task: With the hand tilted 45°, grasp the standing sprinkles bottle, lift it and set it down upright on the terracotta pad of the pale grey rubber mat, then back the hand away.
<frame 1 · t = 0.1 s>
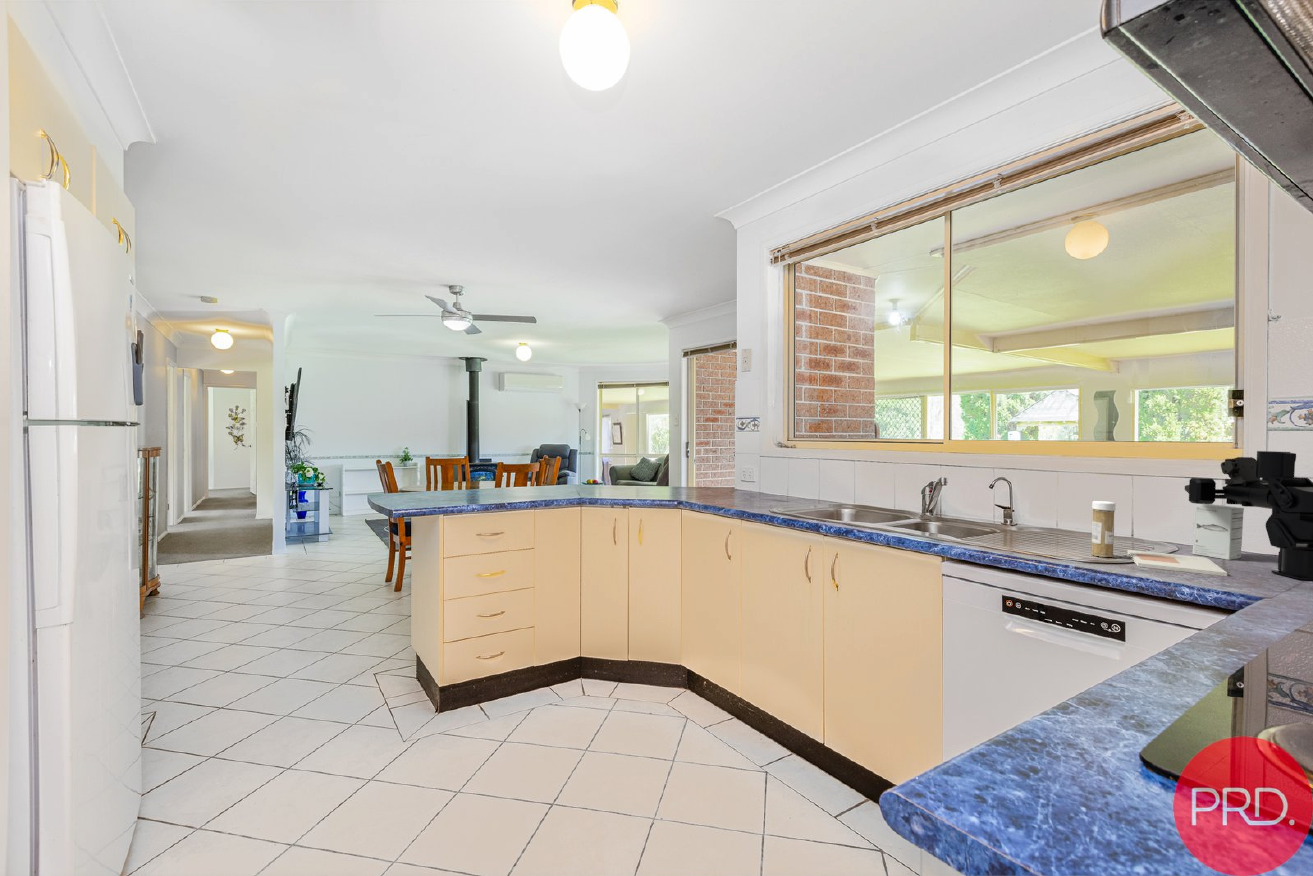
hand: (1204, 488, 154), 17 cm above the counter, tool horizontal, fingers open, 9 cm apart
sprinkles bottle: (1101, 557, 148), on the counter
supplement box: (1216, 557, 150), on the counter
mat: (1173, 563, 141), on the counter
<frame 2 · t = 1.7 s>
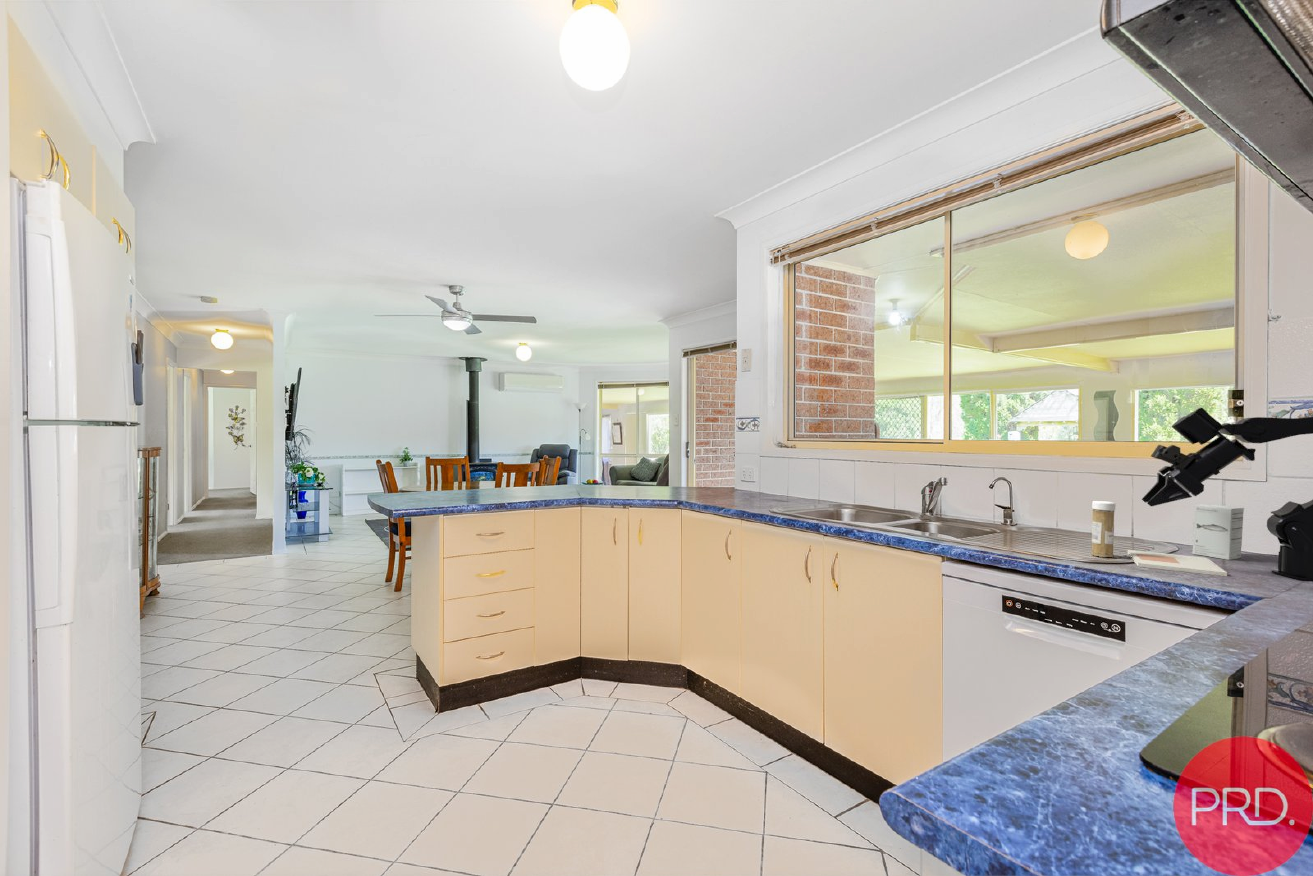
hand: (1146, 502, 143), 14 cm above the counter, tool tilted 45°, fingers open, 9 cm apart
nothing on the counter moved.
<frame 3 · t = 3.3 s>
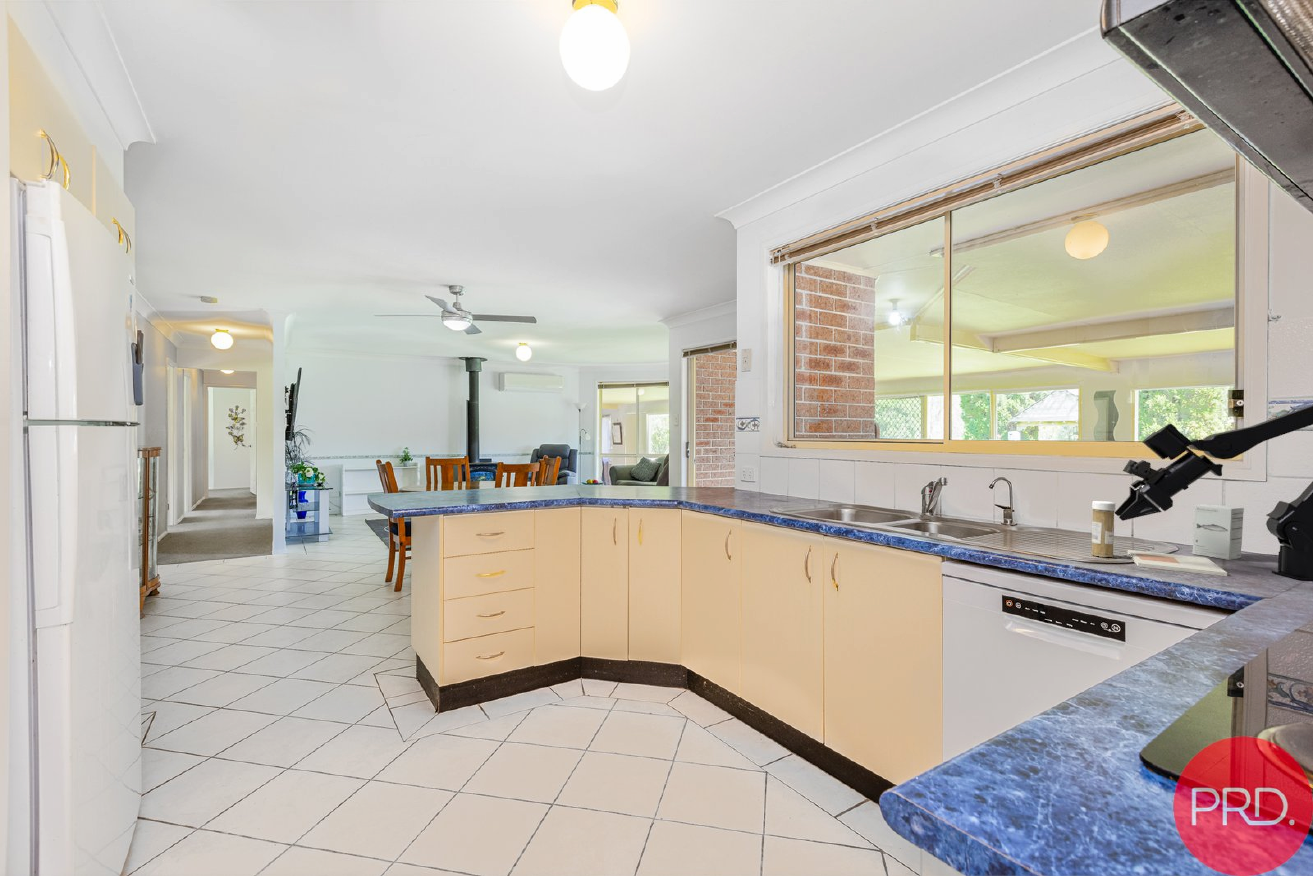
hand: (1118, 516, 146), 10 cm above the counter, tool tilted 45°, fingers open, 9 cm apart
nothing on the counter moved.
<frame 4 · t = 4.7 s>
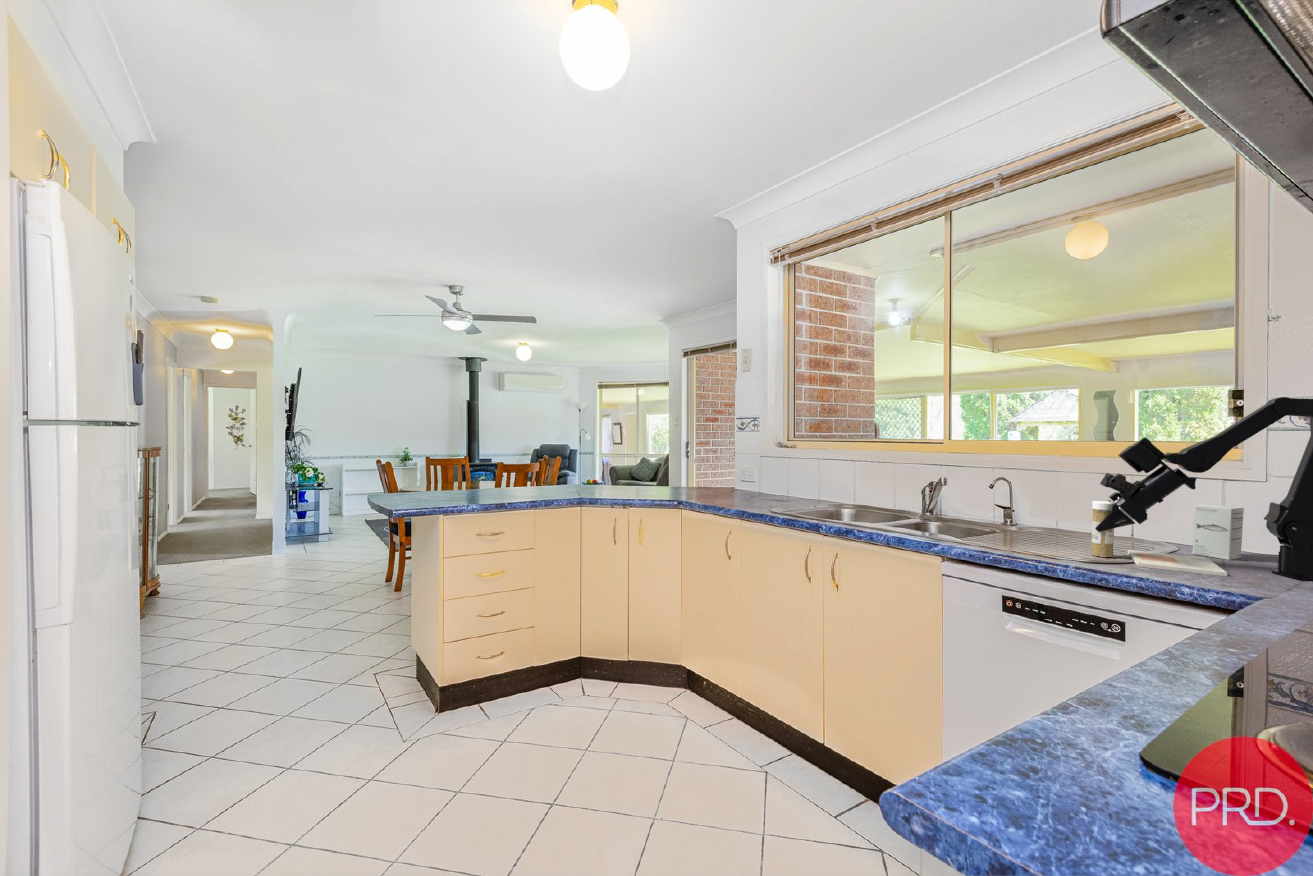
hand: (1095, 529, 148), 7 cm above the counter, tool tilted 45°, fingers closed on sprinkles bottle, 4 cm apart
sprinkles bottle: (1101, 557, 148), on the counter, touching gripper
everything else where it was.
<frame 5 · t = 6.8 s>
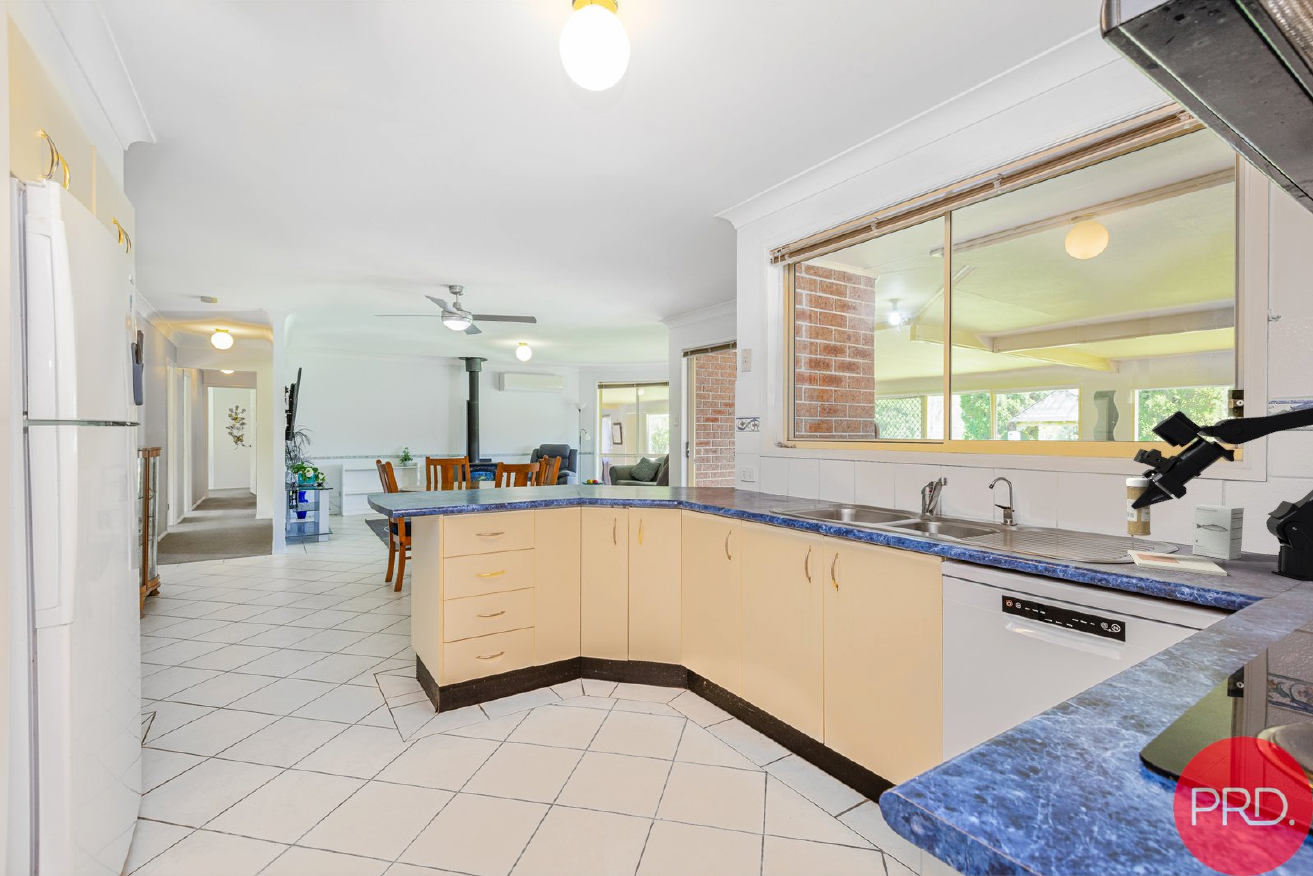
hand: (1131, 506, 144), 13 cm above the counter, tool tilted 45°, fingers closed on sprinkles bottle, 4 cm apart
sprinkles bottle: (1138, 535, 144), point 6 cm above the counter, touching gripper
everything else where it was.
when the fingers open (9 cm above the counter, at t = 8.6 s): sprinkles bottle drops 1 cm, resting on mat.
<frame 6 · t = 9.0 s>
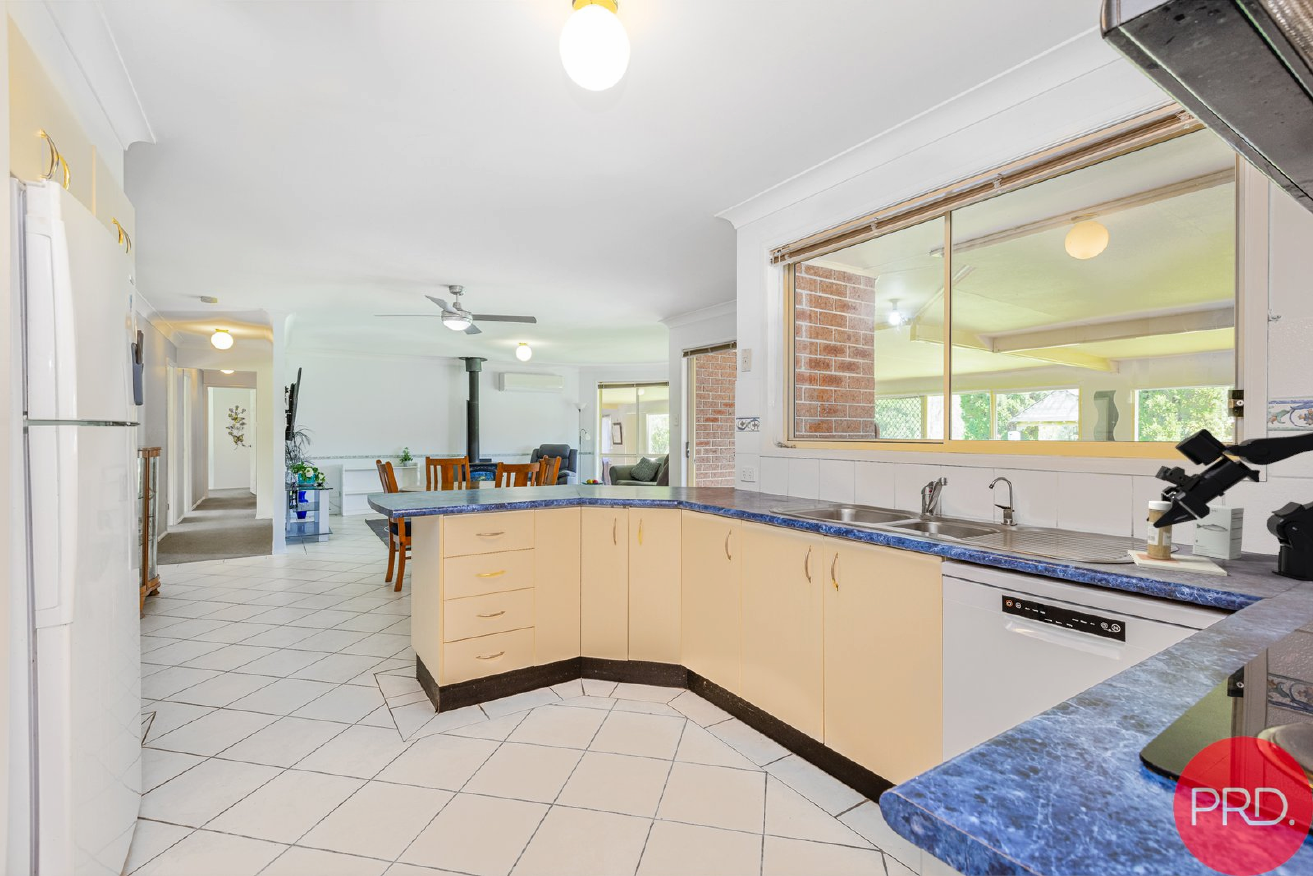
hand: (1151, 524, 142), 9 cm above the counter, tool tilted 45°, fingers open, 9 cm apart
sprinkles bottle: (1158, 559, 142), point 1 cm above the counter, touching mat
everything else where it was.
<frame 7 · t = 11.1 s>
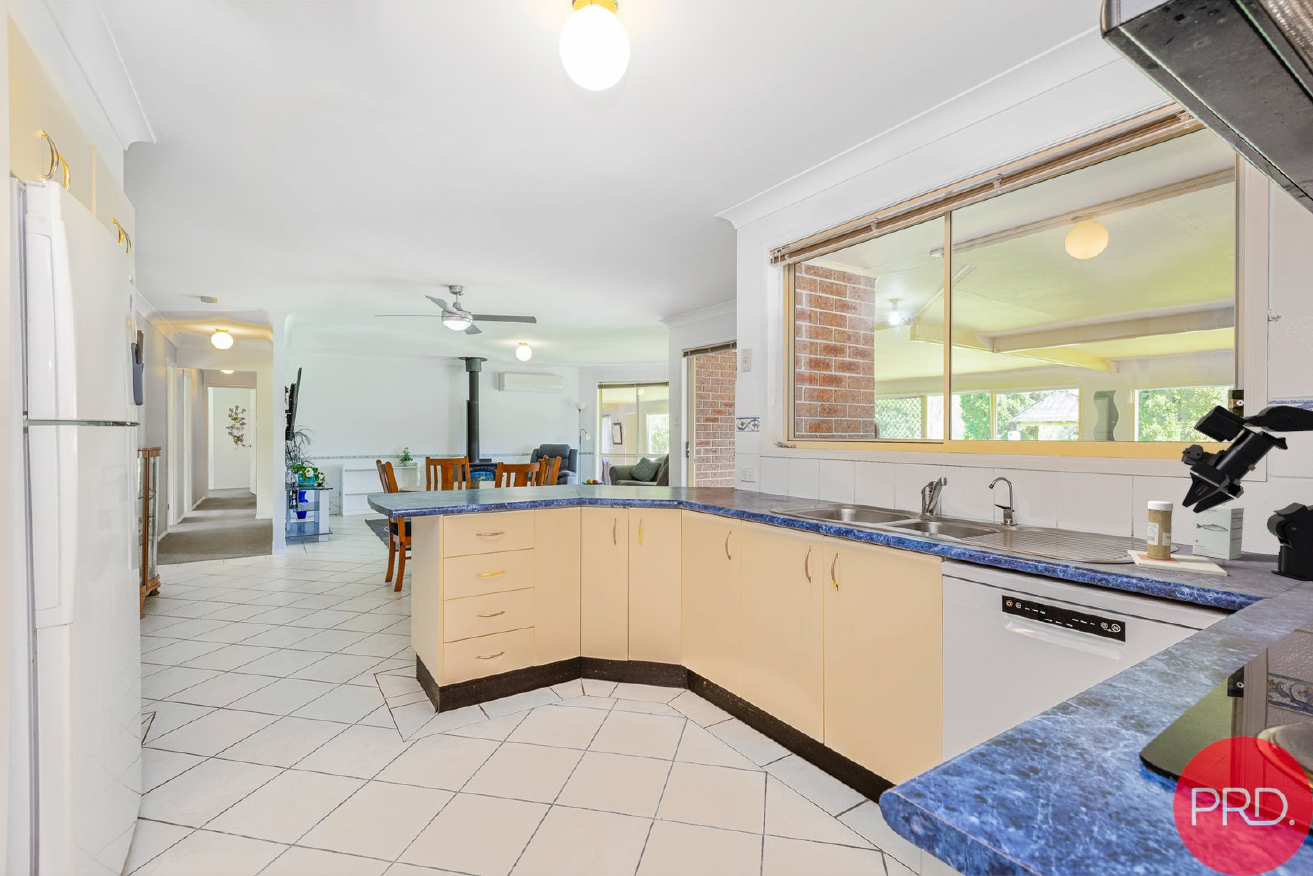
hand: (1189, 509, 139), 13 cm above the counter, tool tilted 35°, fingers open, 9 cm apart
nothing on the counter moved.
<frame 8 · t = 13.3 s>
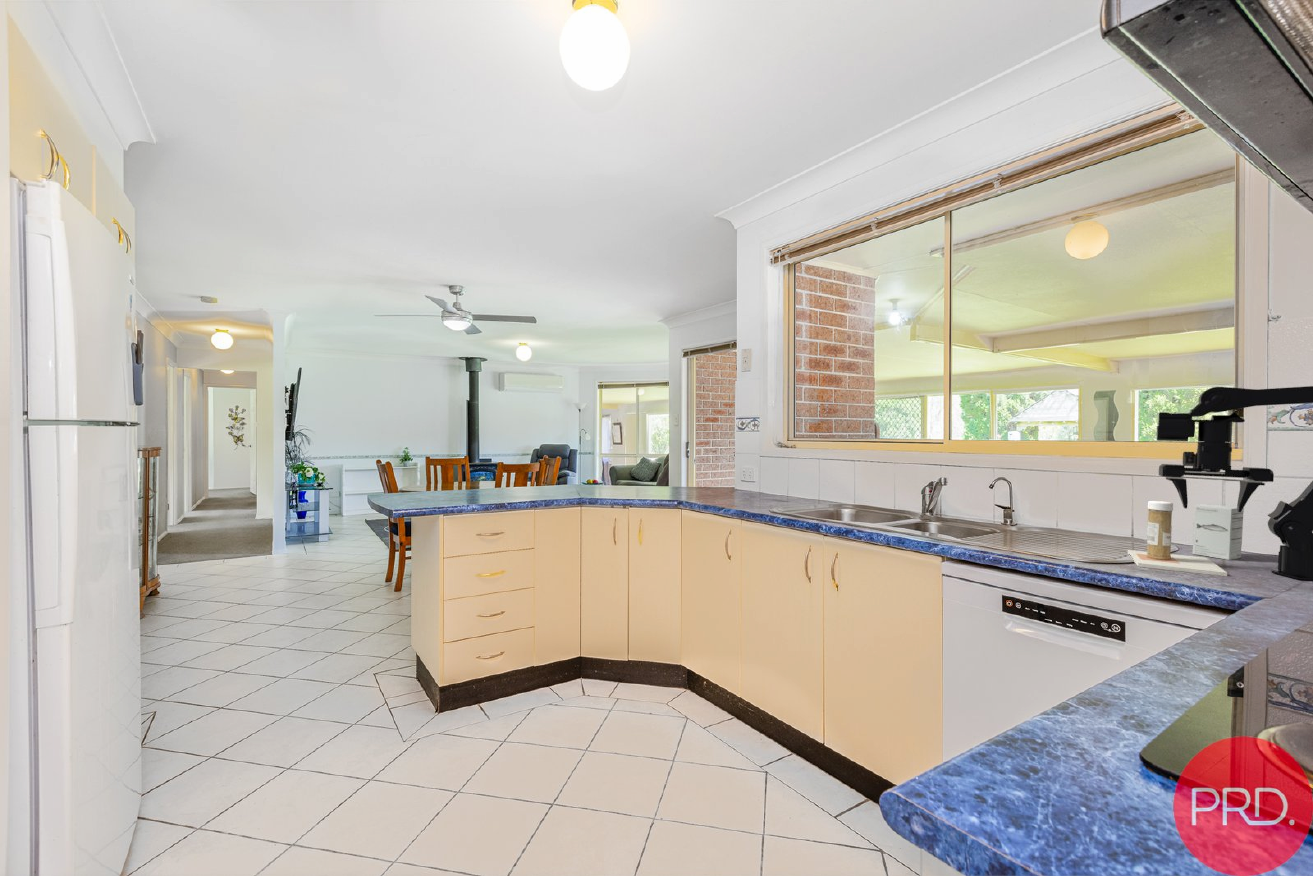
hand: (1211, 510, 138), 13 cm above the counter, tool pointing down, fingers open, 9 cm apart
nothing on the counter moved.
at the end: sprinkles bottle inside the target area on the mat (0.2 cm from its centre), point 0.7 cm above the mat's base; sprinkles bottle tilted 0°; the gripper is holding nothing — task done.
